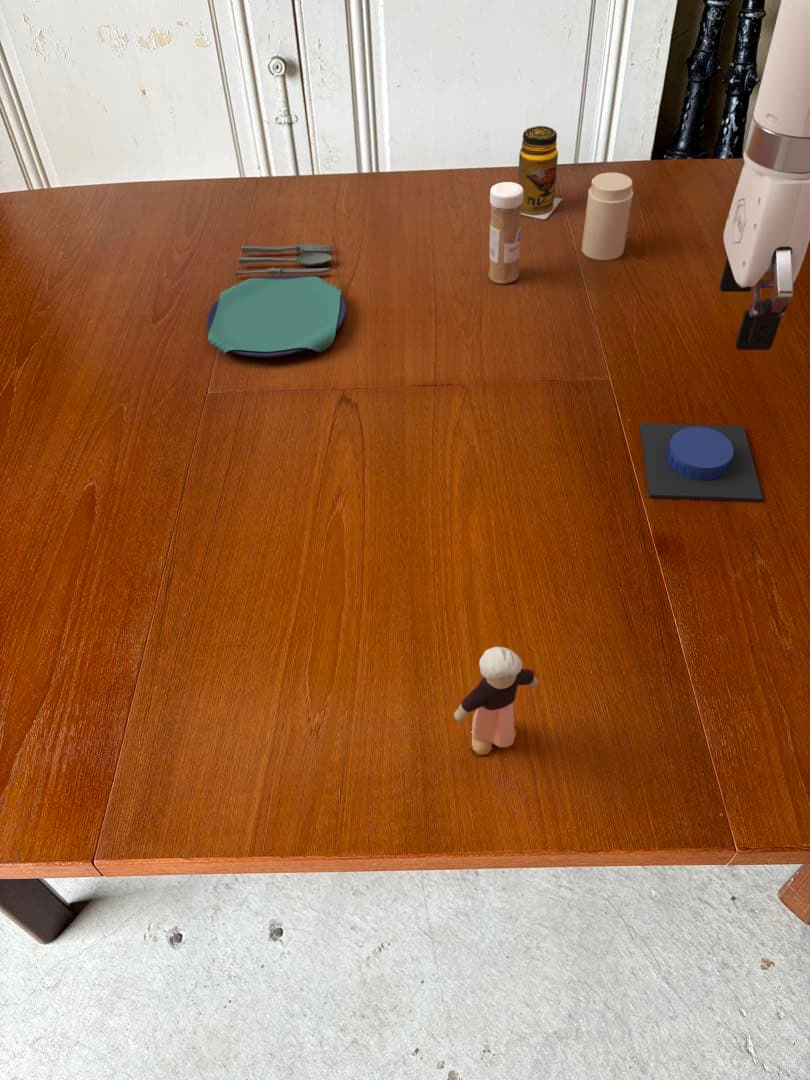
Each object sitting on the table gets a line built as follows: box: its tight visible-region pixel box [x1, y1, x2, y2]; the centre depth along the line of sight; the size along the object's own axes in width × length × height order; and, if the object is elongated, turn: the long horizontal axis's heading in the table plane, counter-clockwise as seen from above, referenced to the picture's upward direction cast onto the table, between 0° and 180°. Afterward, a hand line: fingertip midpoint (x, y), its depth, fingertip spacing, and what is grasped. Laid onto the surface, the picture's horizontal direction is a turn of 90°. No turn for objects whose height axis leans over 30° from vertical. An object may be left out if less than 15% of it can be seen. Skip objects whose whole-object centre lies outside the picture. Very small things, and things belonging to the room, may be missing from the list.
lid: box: [666, 427, 734, 480], centre depth 92 cm, size 7×7×2 cm
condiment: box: [517, 125, 563, 220], centre depth 131 cm, size 7×8×12 cm
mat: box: [639, 422, 764, 502], centre depth 93 cm, size 12×12×1 cm
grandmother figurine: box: [453, 646, 539, 753], centre depth 67 cm, size 8×4×13 cm, turn 126°
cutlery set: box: [205, 242, 347, 359], centre depth 118 cm, size 20×30×2 cm, turn 179°
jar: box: [581, 172, 634, 261], centre depth 121 cm, size 6×6×11 cm
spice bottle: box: [488, 181, 524, 285], centre depth 116 cm, size 5×5×13 cm
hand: (743, 318), depth 80 cm, fingers open, 9 cm apart
